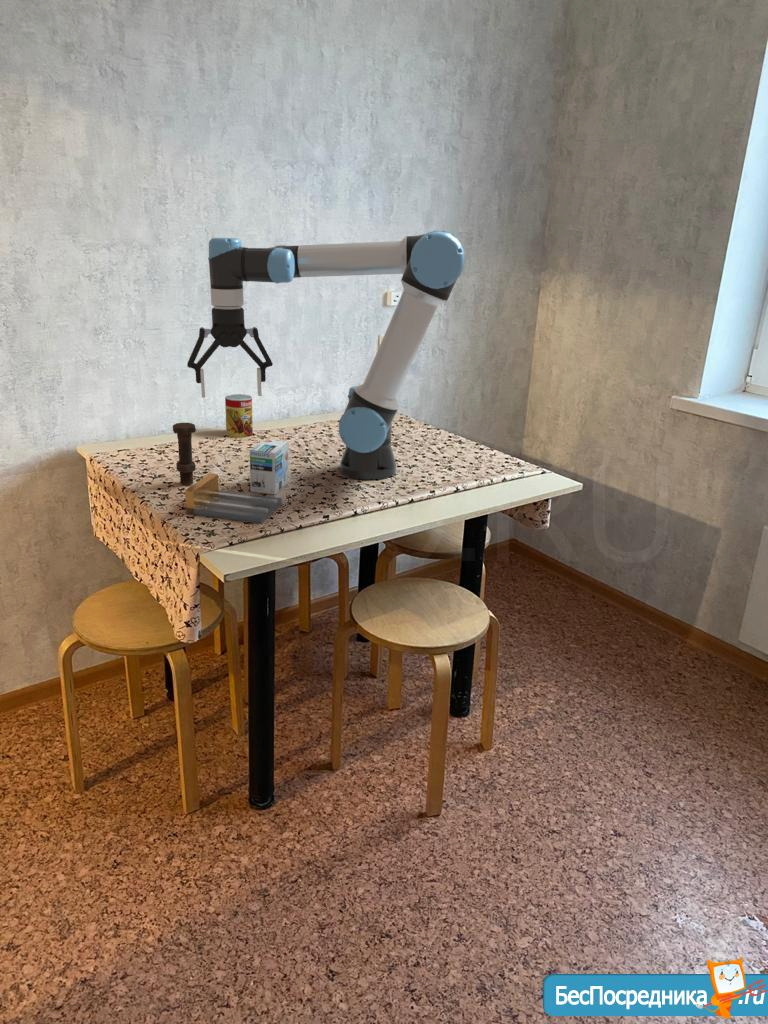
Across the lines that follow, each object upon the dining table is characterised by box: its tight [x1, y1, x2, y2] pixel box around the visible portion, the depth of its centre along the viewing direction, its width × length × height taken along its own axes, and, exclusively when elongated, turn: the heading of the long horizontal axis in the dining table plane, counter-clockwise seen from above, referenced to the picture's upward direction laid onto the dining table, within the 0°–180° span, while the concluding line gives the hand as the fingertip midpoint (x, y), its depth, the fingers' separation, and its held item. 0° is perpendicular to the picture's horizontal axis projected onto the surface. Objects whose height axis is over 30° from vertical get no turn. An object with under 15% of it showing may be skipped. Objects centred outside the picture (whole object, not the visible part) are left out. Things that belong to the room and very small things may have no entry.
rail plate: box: [184, 472, 283, 525], centre depth 177 cm, size 18×13×6 cm
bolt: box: [172, 422, 197, 486], centre depth 189 cm, size 6×5×15 cm
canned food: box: [224, 393, 254, 439], centre depth 232 cm, size 8×8×12 cm
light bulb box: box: [249, 438, 290, 495], centre depth 191 cm, size 11×7×11 cm, turn 168°
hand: (231, 395), depth 190 cm, fingers open, 13 cm apart
